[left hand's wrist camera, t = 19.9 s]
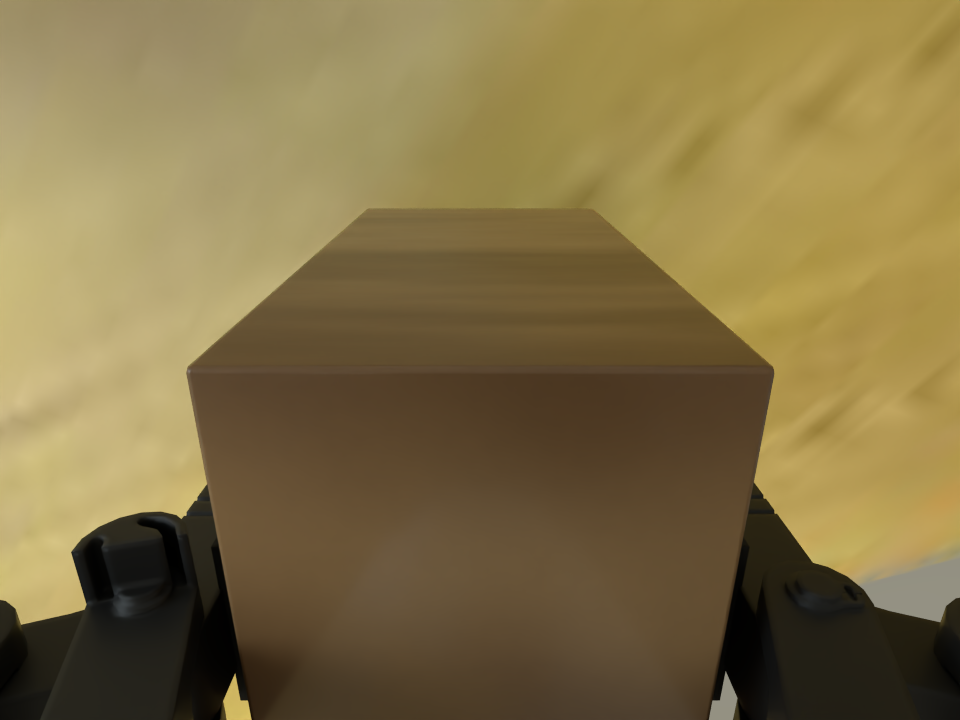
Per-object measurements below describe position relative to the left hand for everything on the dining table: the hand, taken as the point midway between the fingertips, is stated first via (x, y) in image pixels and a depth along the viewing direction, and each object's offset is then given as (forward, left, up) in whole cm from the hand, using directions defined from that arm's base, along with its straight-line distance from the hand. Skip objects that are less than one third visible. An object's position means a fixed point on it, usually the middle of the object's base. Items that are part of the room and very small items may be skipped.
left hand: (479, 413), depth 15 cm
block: (0, 0, -2) cm, 2 cm away
